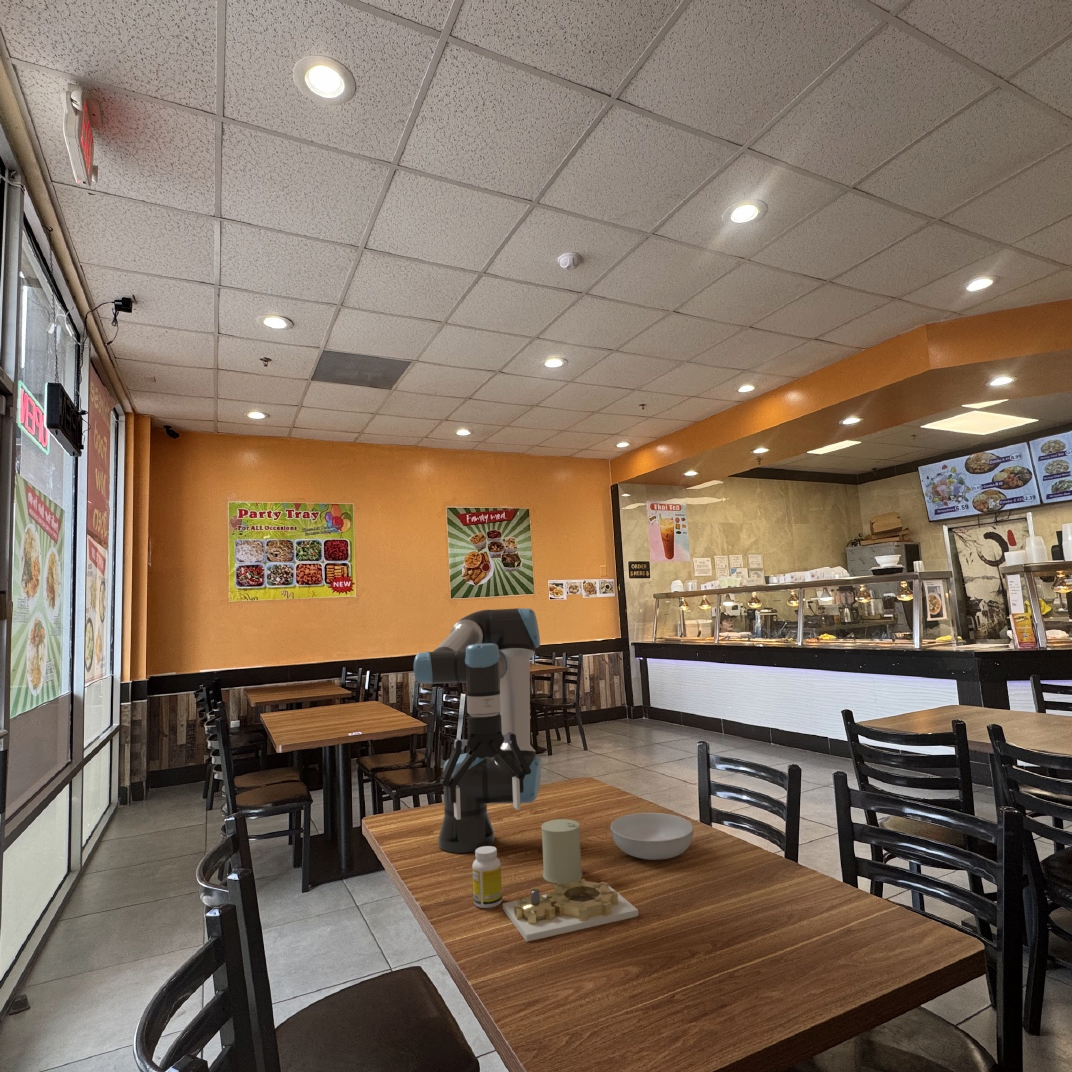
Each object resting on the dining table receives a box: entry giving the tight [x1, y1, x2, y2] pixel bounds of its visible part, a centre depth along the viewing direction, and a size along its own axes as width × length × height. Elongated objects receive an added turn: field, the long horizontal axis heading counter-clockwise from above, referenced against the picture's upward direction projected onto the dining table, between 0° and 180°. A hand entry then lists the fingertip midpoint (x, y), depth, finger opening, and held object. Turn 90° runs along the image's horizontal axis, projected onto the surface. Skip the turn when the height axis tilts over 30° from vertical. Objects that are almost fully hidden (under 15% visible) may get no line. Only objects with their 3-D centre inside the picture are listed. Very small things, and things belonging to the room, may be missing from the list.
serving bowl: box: [609, 812, 694, 861], centre depth 168 cm, size 21×21×7 cm
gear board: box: [502, 884, 639, 942], centre depth 137 cm, size 15×24×1 cm, turn 110°
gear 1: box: [514, 888, 557, 924], centre depth 135 cm, size 8×9×4 cm
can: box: [541, 818, 583, 885], centre depth 156 cm, size 9×9×12 cm
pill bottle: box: [471, 845, 503, 909], centre depth 144 cm, size 6×6×11 cm
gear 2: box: [545, 878, 619, 921], centre depth 138 cm, size 14×14×2 cm
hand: (487, 813), depth 145 cm, fingers open, 13 cm apart
